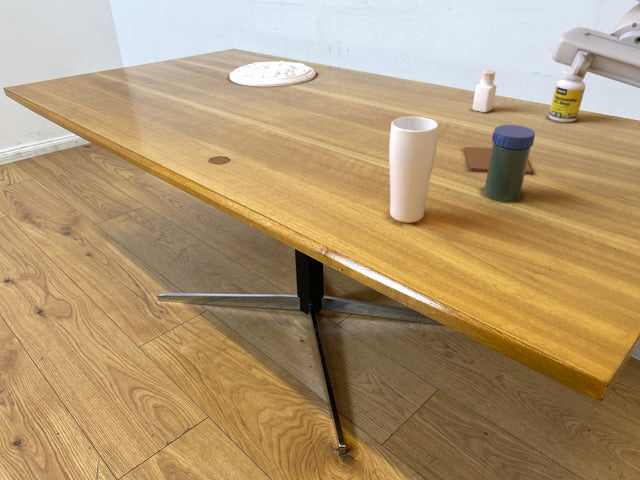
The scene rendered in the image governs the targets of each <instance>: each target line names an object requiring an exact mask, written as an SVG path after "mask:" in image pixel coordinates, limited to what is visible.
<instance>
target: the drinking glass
mask: <svg viewBox="0 0 640 480" xmlns="http://www.w3.org/2000/svg"><path fill="white" fill-rule="evenodd" d="M438 136H439V124H438V122H436V120H434V119H431V118H429V117H423V116H402V117H397V118H395V119H394V120H392V121H391V123H390V131H389V141H388V142H389V143H388V166H389V215H390V217H391V218H392V219H393V220H395V221H396V222H399V223H400V222H401V223H404V224H411V223H416V222H419V221H421V220H422V219H423V217H424V215H425V209H426V208H425V207H426V203H427V197H428V193H429V191H428V190H429V187H430V182H431V177H432V172H433V168H434V163H435V159H436V154H437V153H436V152H437V145H438Z"/></svg>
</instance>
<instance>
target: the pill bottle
mask: <svg viewBox="0 0 640 480" xmlns="http://www.w3.org/2000/svg"><path fill="white" fill-rule="evenodd" d="M574 71H575V70H574V69H573V68H571V69H570V68H568V69H563V70H562V74H561V78H562V79H560V80H558V81H557V83H556V85H555V89H554V93H553V96H552V101H551V105H550V108H549V113H548V117H549V119H550V120H552V121H555V122H560V123H572V122H575V121H576V120H577V119H578V115H579V112H580V108H581V104H582V101H583V97H584V95H585V94H584V93H585V91H586V83H585V82H584V81H583V80H584V79H585V77H586V75H585V76H584V77H583V78H582V77H579V76H575V75H573V73H574Z"/></svg>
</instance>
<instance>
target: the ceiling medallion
mask: <svg viewBox="0 0 640 480" xmlns="http://www.w3.org/2000/svg"><path fill="white" fill-rule="evenodd" d="M316 73H317V72H316V70H315V69H313V68H312V67H310V66H308V65H306V64H304V63H302V62H300V63H299V62H292V61H284V60H280V61H264V62H263V61H255V62H253V63H249V64H245V65H242V66H239V67H237V68H235V69H234V70H233V71H231V72H230V73H229V80H230V81H232V82H233V83H236V84H239V85H242V86H243V85H244V86H250V87H284V86H291V85H299V84H302V83H306V82H309V81H311V80H313V79H314V78H315V77H316Z"/></svg>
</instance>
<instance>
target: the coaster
mask: <svg viewBox="0 0 640 480" xmlns="http://www.w3.org/2000/svg"><path fill="white" fill-rule="evenodd" d="M464 151H465V153H466V158H467V162H468V167H469V171H471V172H487V173H488V168H489V162H490V157H491V151H492V147H478V146H477V147H476V146H475V147H473V146H465V149H464ZM532 173H533V169H532V167H531V166H530V164H529V162H528V163H527V167H526V171H525V175H528V174H529V175H532Z"/></svg>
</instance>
